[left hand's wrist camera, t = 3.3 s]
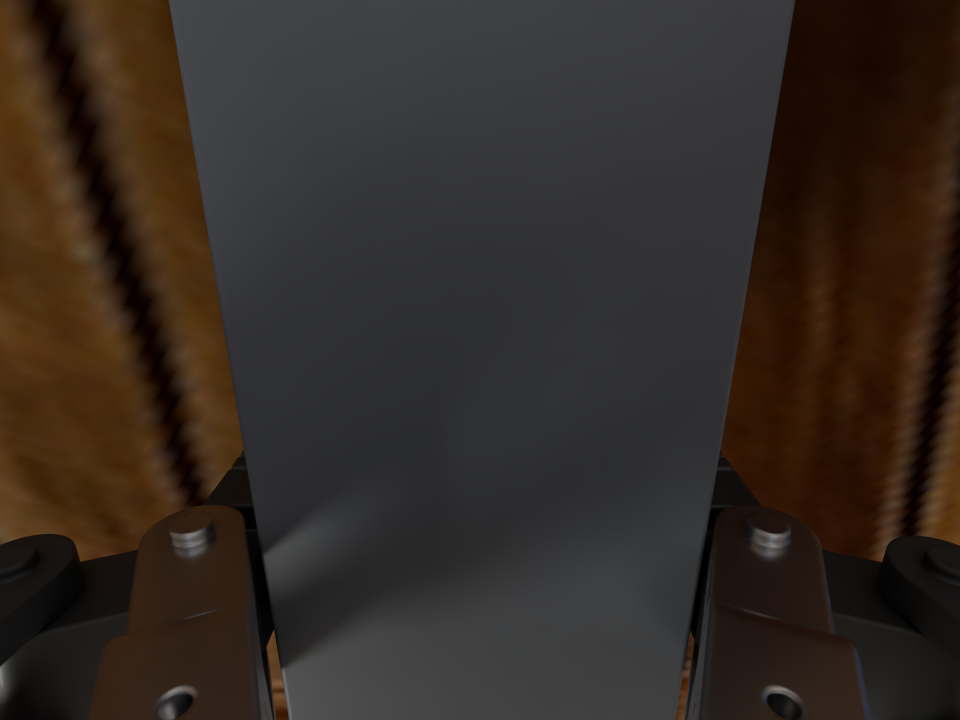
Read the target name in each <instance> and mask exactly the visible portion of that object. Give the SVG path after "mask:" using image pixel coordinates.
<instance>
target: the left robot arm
mask: <svg viewBox="0 0 960 720" xmlns="http://www.w3.org/2000/svg"><path fill="white" fill-rule="evenodd" d="M273 630H274V626H273V620H272V614H271V608H270V602H269V596H268V590H267V584H266V578H265V572H264V566H263V560H262V554H261V548H260V542H259V536H258V530H257V524H256V518H255V512H254V506H253V500H252V494H251V488H250V482H249V476H248V470H247V464H246V458H245V452H244V451H243V452H242V453H241V457H238V459H237V460H236V461H235V463H234V464H233V465H232V469H231V470H229V471H228V472H227V473H226V475H225V476H224V477H223V479H222V480H221V481H220V483H219V484H218V485H217V487H216V488H215V489H214V491H213V492H212V493H211V495H210V496H209V497H208V499H207V500H206V501H205V503H204V504H203V505H202V506H197V507H192V508H188V509H185V510H182V511H179V512H176V513H174V514H172V515H169V516H167V517H166V518H164V519H162V520H160V521H159V522H157V523H156V524H154V525H153V526H152V527H151V528H150V529H149V530H148V531H147V532H146V533H145V534H144V535H143V537H142V539H141V540H140V543H139V547H138V550H135V551H131V552H127V553H122V554H117V555H112V556H107V557H102V558H97V559H92V560H87V561H82V562H80V559H79V556H78V552H77V549H76V546H75V544H74V542H73V541H72V540H71V539H70V538H68V537H66V536H62V535H58V534H40V535H34V536H28V537H24V538H20V539H16V540H13V541H10V542H7V543H4V544H2V545H0V720H276V715H275V707H274V698H273V690H272V682H271V674H270V666H269V659H268V653H267V644H268V642H269V639H270V637H271V635H272V632H273ZM690 630H691V633H692V635H693V637H694V640H695V641H694V647H693V653H692V659H691V666H690V674H689V682H688V690H687V698H686V707H685V715H684V720H960V546H959V545H956V544H954V543H950V542H947V541H944V540H940V539H936V538H931V537H924V536H903V537H898V538H896V539H894V540H892V541H891V542H890V543H889V544H888V546H887V548H886V552H885V555H884V558H883V561H882V562H877V561H872V560H867V559H862V558H857V557H852V556H847V555H843V554H838V553H833V552H829V551H826V550H823V549H822V547H821V543H820V540H819V539H818V537H817V535H816V534H815V533H814V532H813V531H812V530H811V529H810V528H809V527H808V526H807V525H806V524H804V523H803V522H801V521H800V520H798V519H796V518H794V517H793V516H791V515H788V514H786V513H784V512H781V511H778V510H775V509H772V508H768V507H763V506H761V504H760V503H759V502H758V501H757V499H756V498H755V497H754V495H753V494H752V493H751V491H750V490H749V489H748V487H747V486H746V485H745V483H744V482H743V481H742V479H741V478H740V477H739V475H738V474H737V473H736V471H733V470H732V466H731V465H730V464H729V462H728V461H727V460H726V458H723V454H722V453H721V452H720V454H719V460H718V466H717V472H716V478H715V484H714V490H713V496H712V502H711V508H710V514H709V520H708V526H707V532H706V538H705V544H704V550H703V556H702V562H701V568H700V574H699V580H698V585H697V591H696V597H695V603H694V609H693V615H692V621H691V627H690Z"/></svg>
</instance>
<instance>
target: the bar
mask: <svg viewBox="0 0 960 720" xmlns="http://www.w3.org/2000/svg"><path fill="white" fill-rule="evenodd" d="M169 4H170V10H171V16H172V22H173V28H174V34H175V40H176V46H177V52H178V58H179V64H180V70H181V76H182V82H183V88H184V94H185V100H186V106H187V112H188V118H189V124H190V130H191V136H192V142H193V148H194V154H195V159H196V165H197V171H198V177H199V183H200V189H201V195H202V201H203V207H204V213H205V219H206V225H207V231H208V237H209V243H210V249H211V255H212V261H213V267H214V273H215V279H216V285H217V291H218V297H219V303H220V309H221V315H222V321H223V327H224V333H225V339H226V345H227V351H228V357H229V363H230V369H231V375H232V381H233V387H234V393H235V399H236V404H237V410H238V416H239V422H240V428H241V434H242V440H243V446H244V452H245V458H246V464H247V470H248V476H249V482H250V488H251V494H252V500H253V506H254V512H255V518H256V524H257V530H258V536H259V542H260V548H261V554H262V560H263V566H264V572H265V578H266V584H267V590H268V596H269V602H270V608H271V614H272V620H273V626H274V632H275V638H276V644H277V650H278V655H279V661H280V667H281V673H282V679H283V685H284V691H285V697H286V703H287V709H288V715H289V720H675V717H676V711H677V705H678V699H679V693H680V687H681V681H682V675H683V669H684V663H685V657H686V651H687V645H688V639H689V633H690V627H691V621H692V615H693V609H694V603H695V597H696V591H697V585H698V580H699V574H700V568H701V562H702V556H703V550H704V544H705V538H706V532H707V526H708V520H709V514H710V508H711V502H712V496H713V490H714V484H715V478H716V472H717V466H718V460H719V454H720V448H721V442H722V436H723V430H724V424H725V418H726V412H727V406H728V400H729V394H730V388H731V382H732V376H733V370H734V364H735V358H736V352H737V346H738V340H739V334H740V328H741V322H742V316H743V310H744V304H745V298H746V292H747V286H748V280H749V274H750V268H751V262H752V256H753V250H754V244H755V238H756V232H757V226H758V220H759V214H760V208H761V202H762V196H763V190H764V184H765V178H766V172H767V166H768V160H769V154H770V148H771V142H772V136H773V130H774V124H775V118H776V112H777V106H778V100H779V94H780V88H781V82H782V77H783V71H784V65H785V59H786V53H787V47H788V41H789V35H790V29H791V23H792V17H793V11H794V5H795V0H169Z"/></svg>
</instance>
